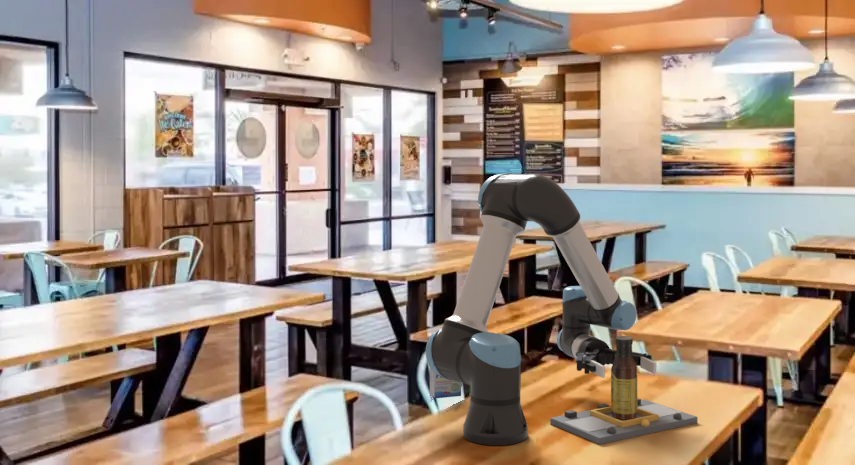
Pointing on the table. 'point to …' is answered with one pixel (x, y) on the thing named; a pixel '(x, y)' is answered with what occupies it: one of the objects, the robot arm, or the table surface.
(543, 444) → the table surface
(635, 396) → the sauce bottle
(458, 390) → the medicine box
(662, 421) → the grey fixture plate
